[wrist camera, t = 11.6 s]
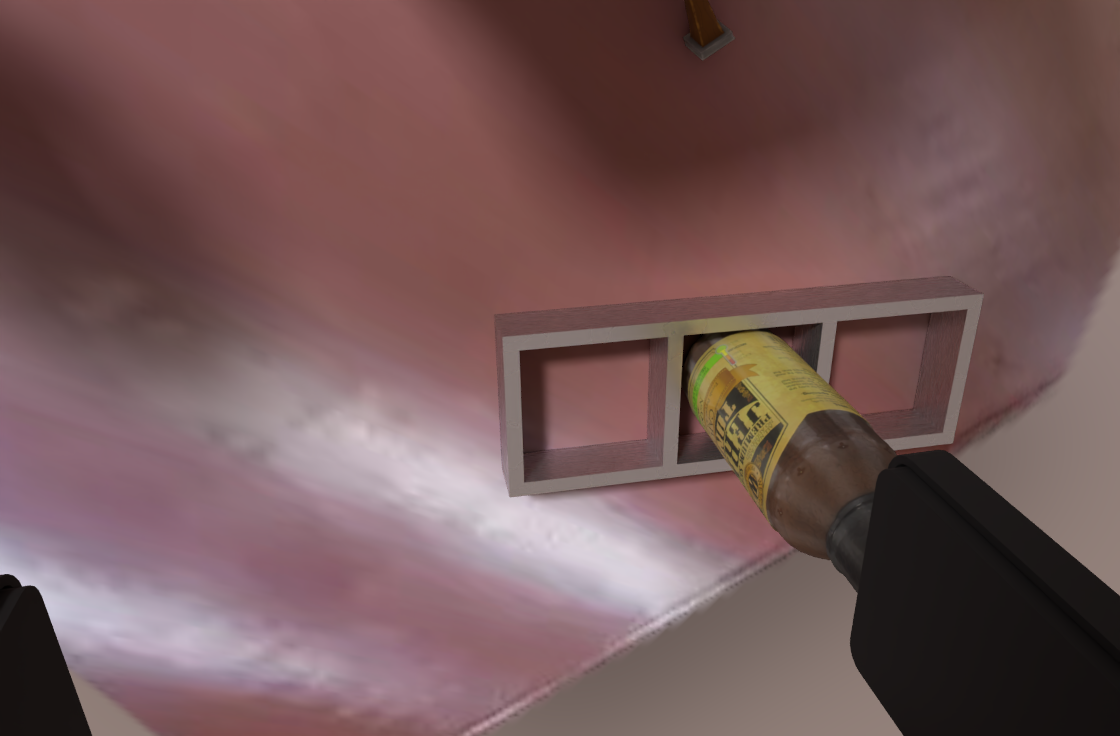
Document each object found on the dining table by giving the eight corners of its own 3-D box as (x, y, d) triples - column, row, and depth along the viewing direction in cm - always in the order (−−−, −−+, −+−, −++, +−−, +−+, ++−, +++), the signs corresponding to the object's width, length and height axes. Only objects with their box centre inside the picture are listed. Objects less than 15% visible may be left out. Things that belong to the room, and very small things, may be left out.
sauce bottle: (673, 324, 46) (860, 542, 28) (782, 307, 47) (1029, 509, 29) (676, 427, 49) (847, 685, 31) (778, 410, 50) (1002, 651, 32)
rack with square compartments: (494, 314, 44) (502, 336, 41) (950, 276, 48) (983, 294, 46) (501, 468, 48) (509, 497, 45) (923, 419, 52) (952, 443, 49)
